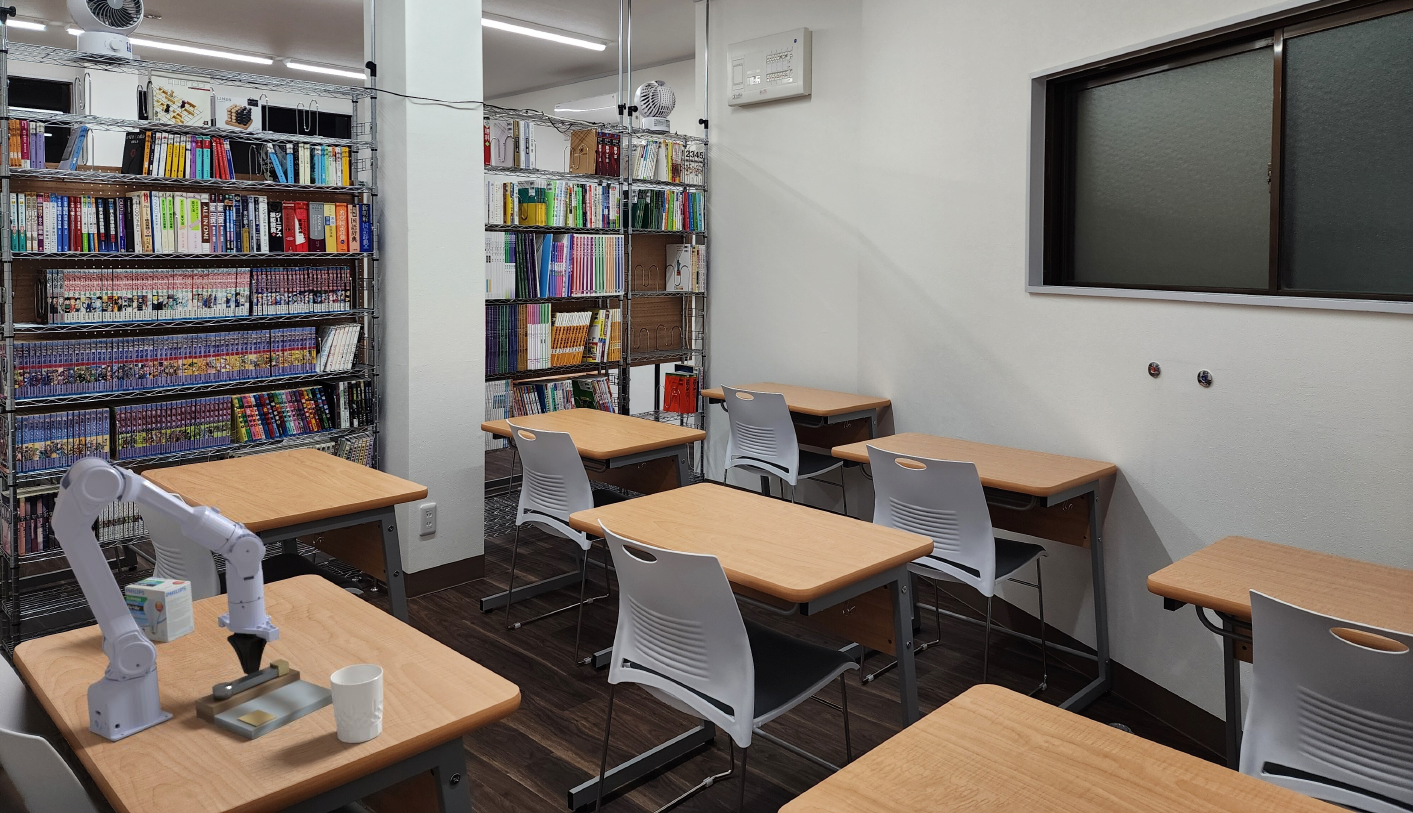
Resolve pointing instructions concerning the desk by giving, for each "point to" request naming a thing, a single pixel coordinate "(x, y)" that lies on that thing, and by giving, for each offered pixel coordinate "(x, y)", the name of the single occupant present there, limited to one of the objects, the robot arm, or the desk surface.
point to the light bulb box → (161, 607)
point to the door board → (264, 705)
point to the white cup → (358, 702)
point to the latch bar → (250, 680)
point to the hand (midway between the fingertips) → (251, 672)
